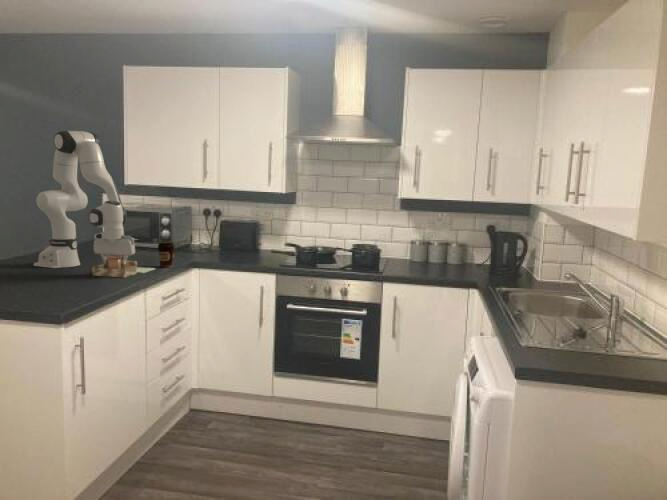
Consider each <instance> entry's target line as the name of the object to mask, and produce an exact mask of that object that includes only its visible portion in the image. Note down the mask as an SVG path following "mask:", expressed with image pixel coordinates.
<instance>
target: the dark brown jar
mask: <svg viewBox="0 0 667 500" xmlns="http://www.w3.org/2000/svg"><path fill="white" fill-rule="evenodd" d="M175 247H176V245H175V244H174V242H173V241H161V242H160V241H159V243H158V245H157V248H158V260H159V267H160V268H173V266H174V265H173V260H174V258H175V257H174V256H175V252H174V251H175Z"/></svg>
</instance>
